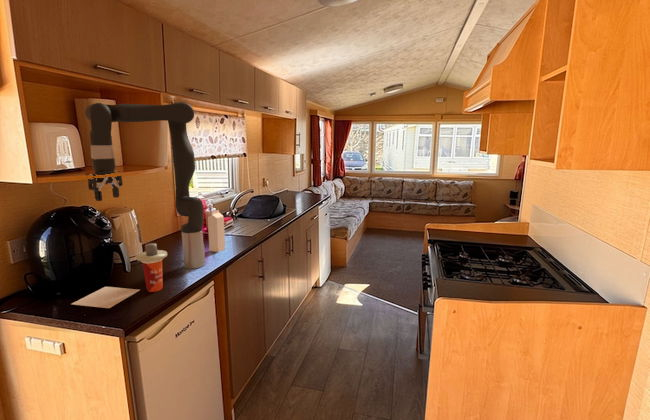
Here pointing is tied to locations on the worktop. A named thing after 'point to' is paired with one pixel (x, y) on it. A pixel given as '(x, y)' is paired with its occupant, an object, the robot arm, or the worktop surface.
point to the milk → (216, 231)
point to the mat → (106, 297)
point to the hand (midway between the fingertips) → (107, 199)
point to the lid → (151, 253)
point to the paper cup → (153, 275)
